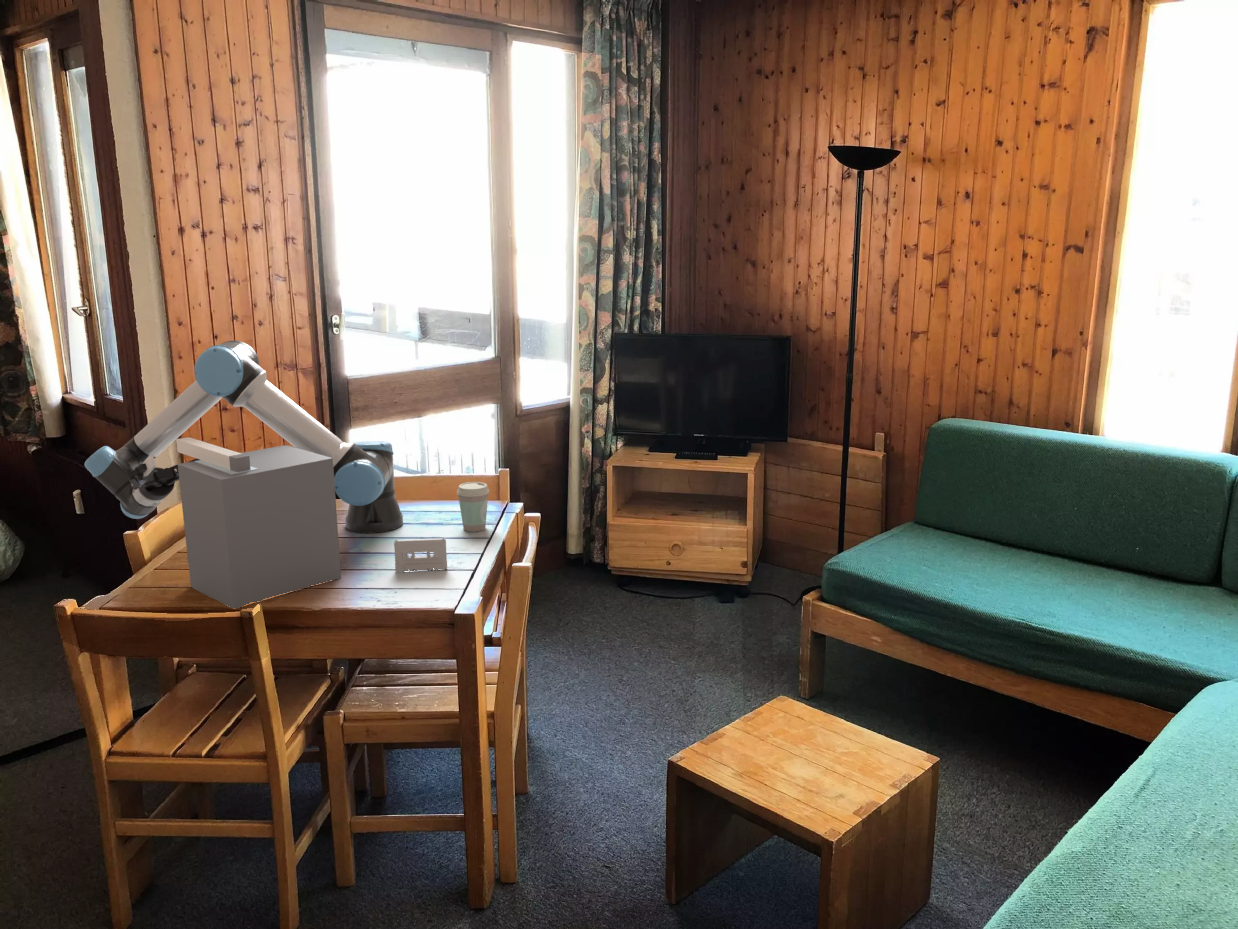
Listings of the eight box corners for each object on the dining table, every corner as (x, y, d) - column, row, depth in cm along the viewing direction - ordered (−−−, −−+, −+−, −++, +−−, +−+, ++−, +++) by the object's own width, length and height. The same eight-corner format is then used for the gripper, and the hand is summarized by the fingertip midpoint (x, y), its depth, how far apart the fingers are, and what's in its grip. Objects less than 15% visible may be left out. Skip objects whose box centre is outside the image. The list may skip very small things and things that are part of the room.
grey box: (190, 587, 225) (177, 463, 218) (295, 559, 244) (286, 444, 237) (233, 609, 212) (221, 479, 205) (341, 578, 230) (332, 457, 224)
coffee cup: (484, 534, 263) (483, 490, 260) (453, 532, 264) (451, 488, 262) (494, 525, 271) (493, 482, 268) (464, 523, 273) (463, 480, 270)
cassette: (395, 573, 234) (393, 542, 232) (395, 570, 236) (394, 539, 234) (447, 571, 236) (445, 540, 234) (447, 568, 237) (446, 537, 236)
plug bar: (177, 452, 229) (176, 439, 228) (190, 449, 231) (189, 437, 230) (237, 472, 211) (235, 458, 210) (250, 469, 213) (249, 455, 212)
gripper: (208, 490, 253) (239, 461, 238) (105, 511, 235) (132, 480, 220) (198, 463, 254) (229, 432, 239) (95, 482, 236) (121, 449, 221)
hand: (182, 455), depth 230 cm, fingers open, 13 cm apart
